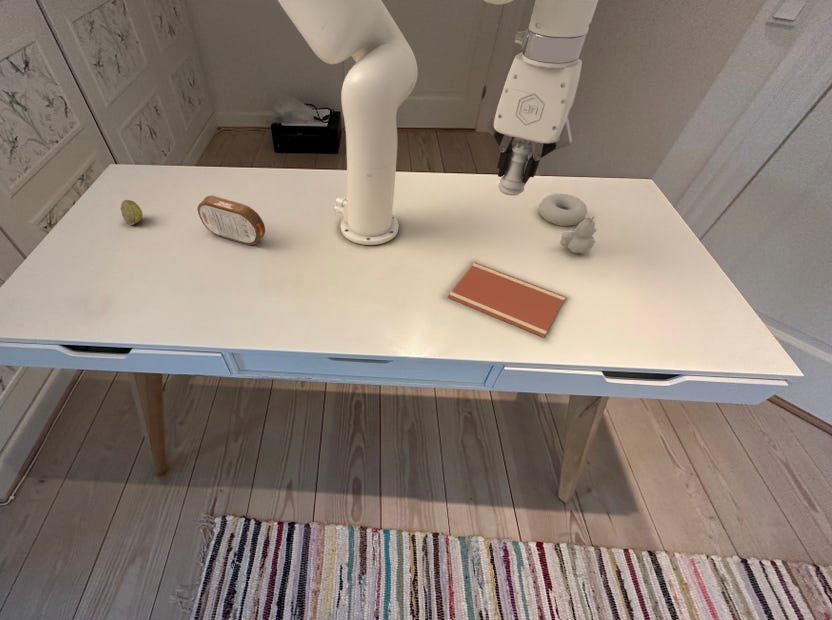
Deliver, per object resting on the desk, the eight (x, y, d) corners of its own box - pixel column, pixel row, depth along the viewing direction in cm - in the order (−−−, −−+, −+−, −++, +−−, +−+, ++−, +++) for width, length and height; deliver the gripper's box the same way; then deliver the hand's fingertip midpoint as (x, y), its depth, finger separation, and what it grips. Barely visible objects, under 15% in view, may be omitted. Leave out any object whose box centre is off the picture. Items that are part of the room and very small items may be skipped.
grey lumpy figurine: (592, 259, 85) (610, 224, 79) (558, 256, 85) (574, 222, 79) (586, 243, 88) (604, 208, 82) (554, 241, 89) (569, 206, 83)
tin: (269, 243, 89) (262, 206, 82) (260, 251, 87) (253, 214, 81) (210, 226, 93) (199, 190, 86) (202, 233, 91) (190, 197, 85)
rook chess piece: (493, 184, 75) (505, 137, 69) (517, 182, 75) (532, 136, 69) (502, 197, 72) (515, 150, 66) (527, 195, 73) (543, 148, 66)
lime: (142, 227, 93) (132, 207, 89) (120, 227, 93) (110, 206, 89) (149, 216, 95) (140, 195, 92) (128, 216, 96) (118, 195, 92)
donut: (588, 230, 91) (577, 204, 97) (595, 216, 89) (583, 191, 95) (540, 228, 92) (533, 202, 98) (546, 214, 89) (538, 189, 95)
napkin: (447, 297, 78) (448, 295, 78) (474, 263, 84) (474, 261, 84) (543, 338, 71) (544, 336, 71) (564, 298, 78) (565, 296, 77)
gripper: (485, 45, 59) (460, 173, 73) (610, 64, 53) (557, 200, 67) (503, 32, 63) (476, 156, 77) (622, 48, 57) (569, 179, 71)
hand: (514, 175), depth 72 cm, fingers closed on rook chess piece, 3 cm apart
